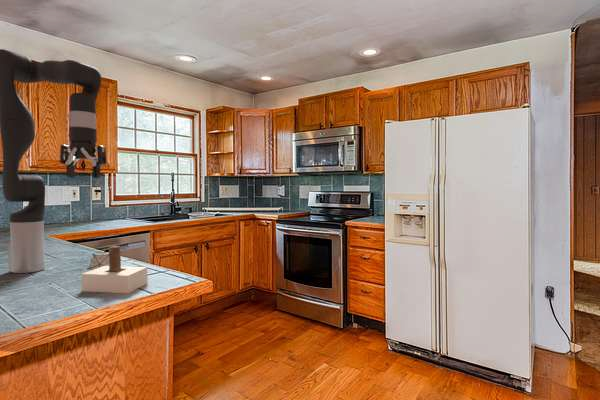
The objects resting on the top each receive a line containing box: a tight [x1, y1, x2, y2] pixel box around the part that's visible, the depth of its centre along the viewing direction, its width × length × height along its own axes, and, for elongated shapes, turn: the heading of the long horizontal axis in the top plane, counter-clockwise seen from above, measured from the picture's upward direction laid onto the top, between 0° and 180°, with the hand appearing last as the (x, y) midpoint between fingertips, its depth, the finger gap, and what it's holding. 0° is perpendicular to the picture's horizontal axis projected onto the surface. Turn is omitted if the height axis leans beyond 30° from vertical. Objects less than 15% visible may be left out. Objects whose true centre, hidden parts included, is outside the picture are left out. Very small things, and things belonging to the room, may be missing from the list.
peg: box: [108, 245, 122, 273], centre depth 102 cm, size 3×3×12 cm
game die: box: [86, 250, 109, 271], centre depth 114 cm, size 9×8×10 cm
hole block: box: [81, 265, 149, 294], centre depth 102 cm, size 14×10×5 cm
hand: (83, 177), depth 111 cm, fingers open, 8 cm apart
